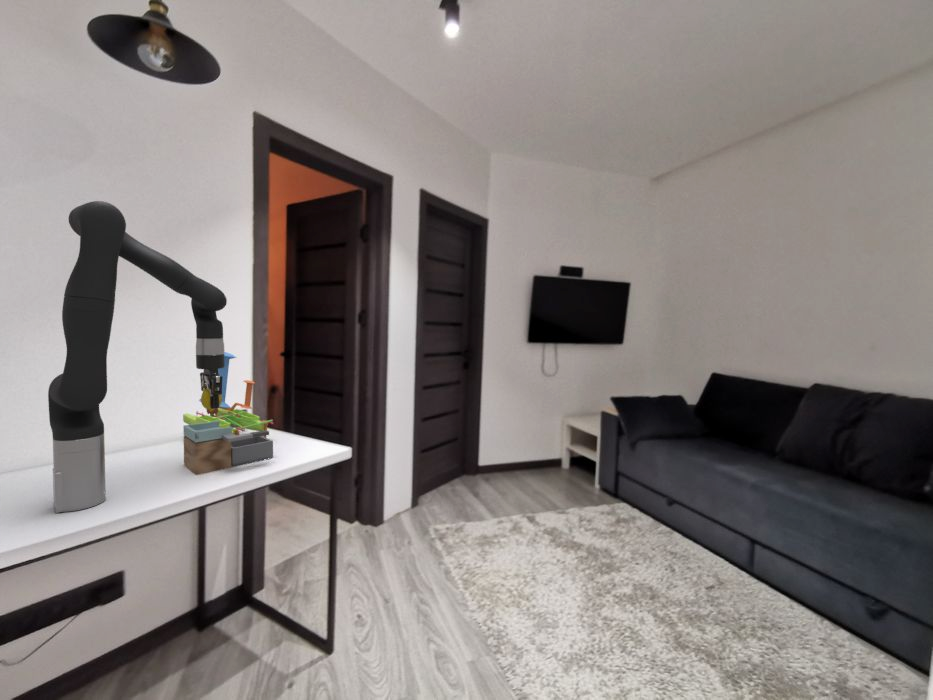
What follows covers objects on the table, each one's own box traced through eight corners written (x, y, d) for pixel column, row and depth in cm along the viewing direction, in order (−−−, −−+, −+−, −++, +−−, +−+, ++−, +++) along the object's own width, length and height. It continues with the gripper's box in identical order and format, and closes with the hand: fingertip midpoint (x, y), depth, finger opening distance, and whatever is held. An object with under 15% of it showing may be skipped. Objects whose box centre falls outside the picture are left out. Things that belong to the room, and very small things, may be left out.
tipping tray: (202, 446, 117) (202, 436, 117) (183, 434, 130) (183, 425, 129) (269, 434, 132) (269, 425, 131) (246, 425, 144) (246, 416, 144)
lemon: (198, 413, 123) (197, 387, 123) (205, 409, 128) (204, 385, 128) (218, 413, 124) (218, 387, 124) (224, 409, 130) (224, 384, 129)
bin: (232, 466, 130) (232, 448, 129) (218, 457, 138) (218, 440, 138) (273, 458, 139) (273, 440, 139) (257, 450, 148) (257, 433, 147)
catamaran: (218, 429, 172) (226, 348, 168) (274, 449, 161) (285, 363, 157) (175, 439, 155) (184, 350, 152) (235, 462, 144) (245, 367, 141)
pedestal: (196, 475, 122) (195, 443, 121) (184, 465, 130) (183, 435, 130) (231, 467, 129) (231, 437, 129) (217, 458, 137) (217, 430, 137)
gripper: (189, 352, 127) (191, 405, 128) (203, 354, 118) (204, 412, 119) (216, 351, 133) (217, 402, 134) (231, 353, 123) (232, 408, 124)
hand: (211, 406), depth 126 cm, fingers closed on lemon, 5 cm apart
